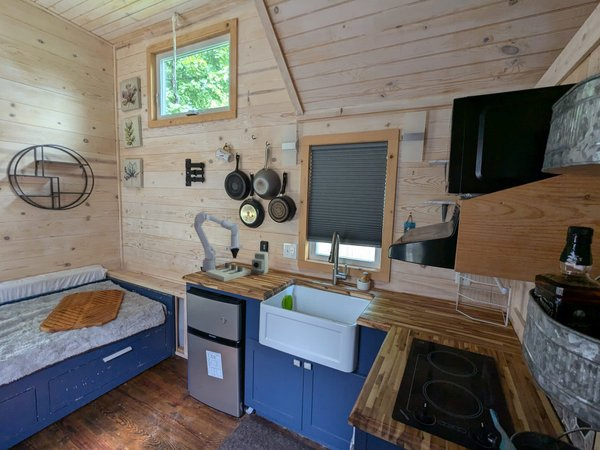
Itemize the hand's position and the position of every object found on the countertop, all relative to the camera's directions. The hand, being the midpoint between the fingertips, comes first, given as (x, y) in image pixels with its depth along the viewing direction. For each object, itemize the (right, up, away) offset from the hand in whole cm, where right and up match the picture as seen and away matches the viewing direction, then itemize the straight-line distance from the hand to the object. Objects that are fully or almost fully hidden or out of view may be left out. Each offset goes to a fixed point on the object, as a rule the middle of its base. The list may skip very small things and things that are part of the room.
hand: (234, 258), depth 216 cm
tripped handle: (+1, -7, -8) cm, 10 cm away
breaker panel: (-2, -11, -10) cm, 15 cm away
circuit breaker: (+20, -11, -5) cm, 23 cm away
